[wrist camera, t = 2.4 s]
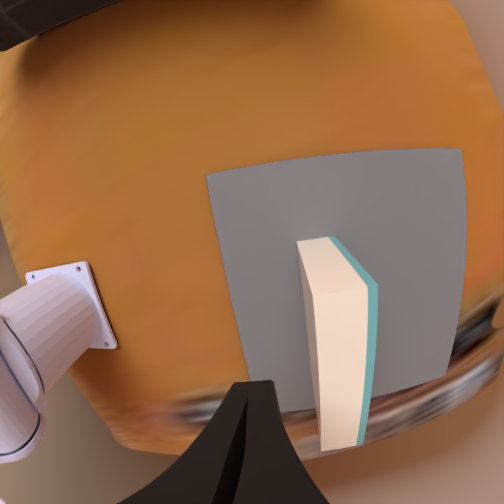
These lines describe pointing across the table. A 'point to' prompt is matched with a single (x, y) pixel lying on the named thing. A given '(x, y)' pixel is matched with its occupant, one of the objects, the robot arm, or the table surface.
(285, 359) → the mat
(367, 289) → the tile
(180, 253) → the table surface
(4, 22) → the magazine
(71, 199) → the table surface
